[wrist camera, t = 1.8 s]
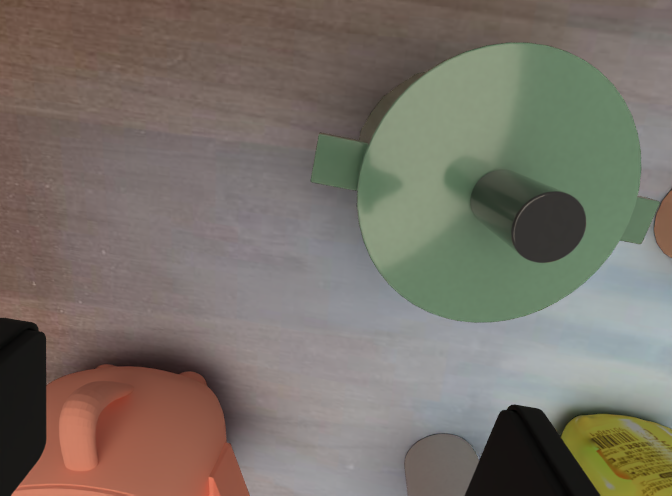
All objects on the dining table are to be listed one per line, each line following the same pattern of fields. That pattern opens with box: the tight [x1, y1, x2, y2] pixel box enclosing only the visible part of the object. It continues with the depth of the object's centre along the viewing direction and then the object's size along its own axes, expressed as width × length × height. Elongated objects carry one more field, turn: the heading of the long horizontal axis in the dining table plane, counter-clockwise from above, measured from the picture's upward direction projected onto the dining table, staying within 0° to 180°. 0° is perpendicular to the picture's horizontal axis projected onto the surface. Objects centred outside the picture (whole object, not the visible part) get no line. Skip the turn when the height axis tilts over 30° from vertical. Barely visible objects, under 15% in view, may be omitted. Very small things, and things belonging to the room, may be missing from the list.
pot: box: [311, 72, 660, 244], centre depth 26 cm, size 13×18×10 cm
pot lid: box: [357, 43, 641, 323], centre depth 19 cm, size 14×14×6 cm
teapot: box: [11, 364, 250, 496], centre depth 31 cm, size 16×17×14 cm
